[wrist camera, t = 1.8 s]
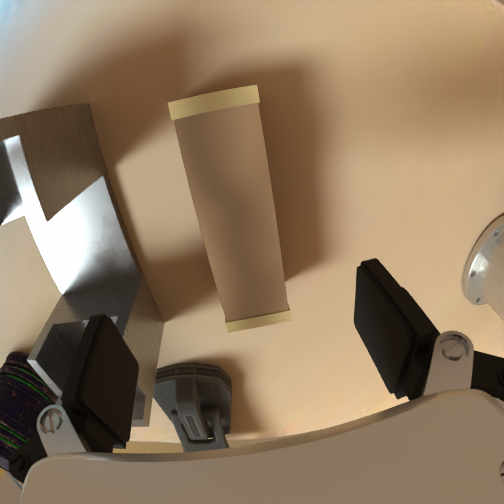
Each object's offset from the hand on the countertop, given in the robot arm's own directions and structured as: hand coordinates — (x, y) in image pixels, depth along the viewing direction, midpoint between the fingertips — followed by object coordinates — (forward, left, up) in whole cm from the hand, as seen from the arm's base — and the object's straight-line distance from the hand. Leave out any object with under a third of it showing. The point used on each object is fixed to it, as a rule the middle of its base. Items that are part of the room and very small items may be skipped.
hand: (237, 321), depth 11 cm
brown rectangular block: (-1, 0, -13) cm, 13 cm away
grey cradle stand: (+12, 0, -13) cm, 18 cm away
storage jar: (+31, +17, -13) cm, 38 cm away
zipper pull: (+10, +29, -13) cm, 33 cm away
